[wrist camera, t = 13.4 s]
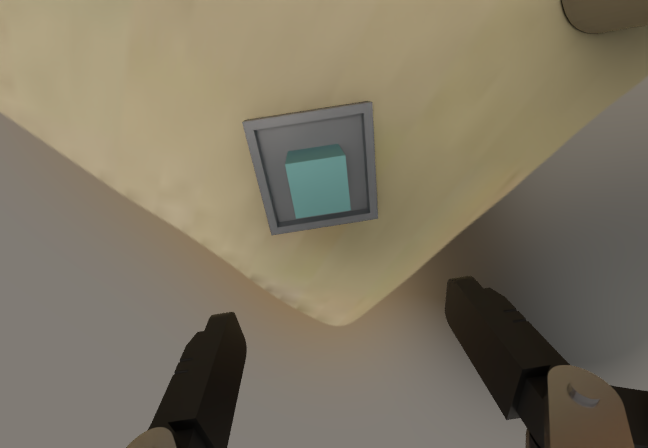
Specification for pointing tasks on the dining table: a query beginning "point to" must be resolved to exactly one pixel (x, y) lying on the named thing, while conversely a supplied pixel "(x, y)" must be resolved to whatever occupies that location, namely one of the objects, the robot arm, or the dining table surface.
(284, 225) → the tray
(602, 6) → the robot arm
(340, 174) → the teal cube
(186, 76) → the dining table surface
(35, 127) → the dining table surface
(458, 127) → the dining table surface
